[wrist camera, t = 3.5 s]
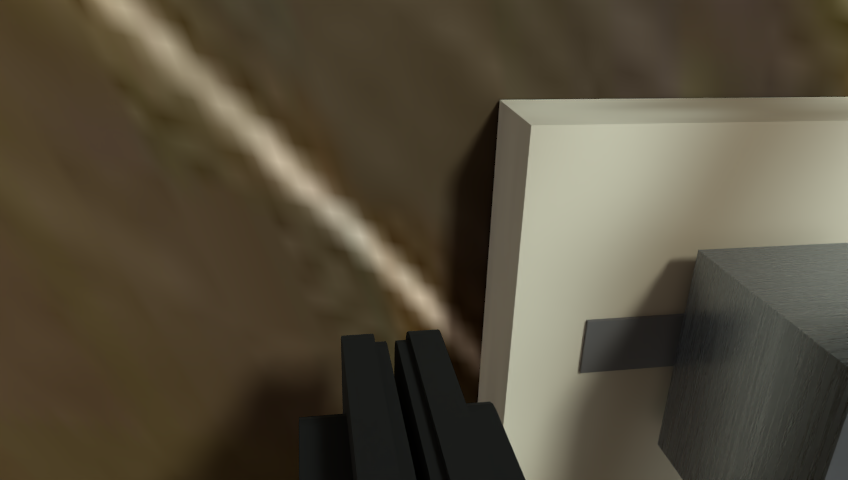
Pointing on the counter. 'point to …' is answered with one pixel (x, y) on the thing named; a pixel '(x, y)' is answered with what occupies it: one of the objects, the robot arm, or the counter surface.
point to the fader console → (632, 255)
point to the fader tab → (762, 367)
